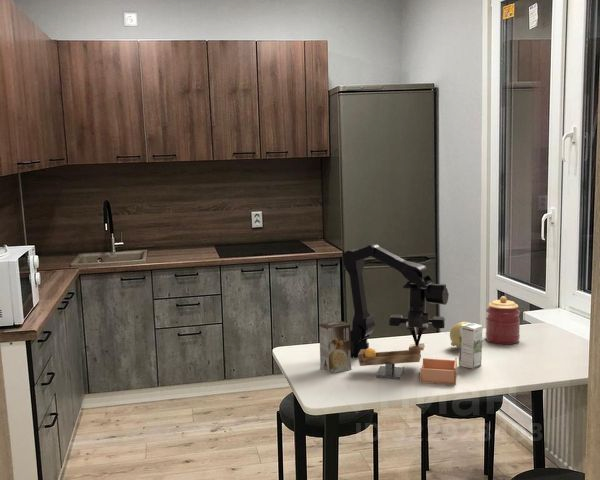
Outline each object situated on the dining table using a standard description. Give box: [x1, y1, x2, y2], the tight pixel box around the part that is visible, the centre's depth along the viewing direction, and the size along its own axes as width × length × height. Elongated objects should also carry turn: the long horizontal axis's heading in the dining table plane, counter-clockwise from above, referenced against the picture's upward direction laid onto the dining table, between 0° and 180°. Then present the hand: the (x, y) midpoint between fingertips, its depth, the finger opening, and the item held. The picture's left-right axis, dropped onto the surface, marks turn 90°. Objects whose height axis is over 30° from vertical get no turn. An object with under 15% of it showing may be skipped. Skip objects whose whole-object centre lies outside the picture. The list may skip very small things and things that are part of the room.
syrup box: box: [458, 322, 484, 370], centre depth 223 cm, size 6×6×14 cm
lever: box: [357, 342, 425, 367], centre depth 221 cm, size 20×16×4 cm
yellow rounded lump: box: [449, 321, 470, 348], centre depth 243 cm, size 10×12×11 cm
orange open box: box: [419, 357, 458, 386], centre depth 212 cm, size 11×11×6 cm
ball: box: [364, 347, 376, 358], centre depth 217 cm, size 4×4×4 cm
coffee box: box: [318, 320, 352, 375], centre depth 221 cm, size 9×6×16 cm
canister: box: [485, 295, 521, 345], centre depth 253 cm, size 13×13×18 cm
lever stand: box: [375, 363, 405, 381], centre depth 216 cm, size 8×10×5 cm
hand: (416, 345), depth 224 cm, fingers closed
